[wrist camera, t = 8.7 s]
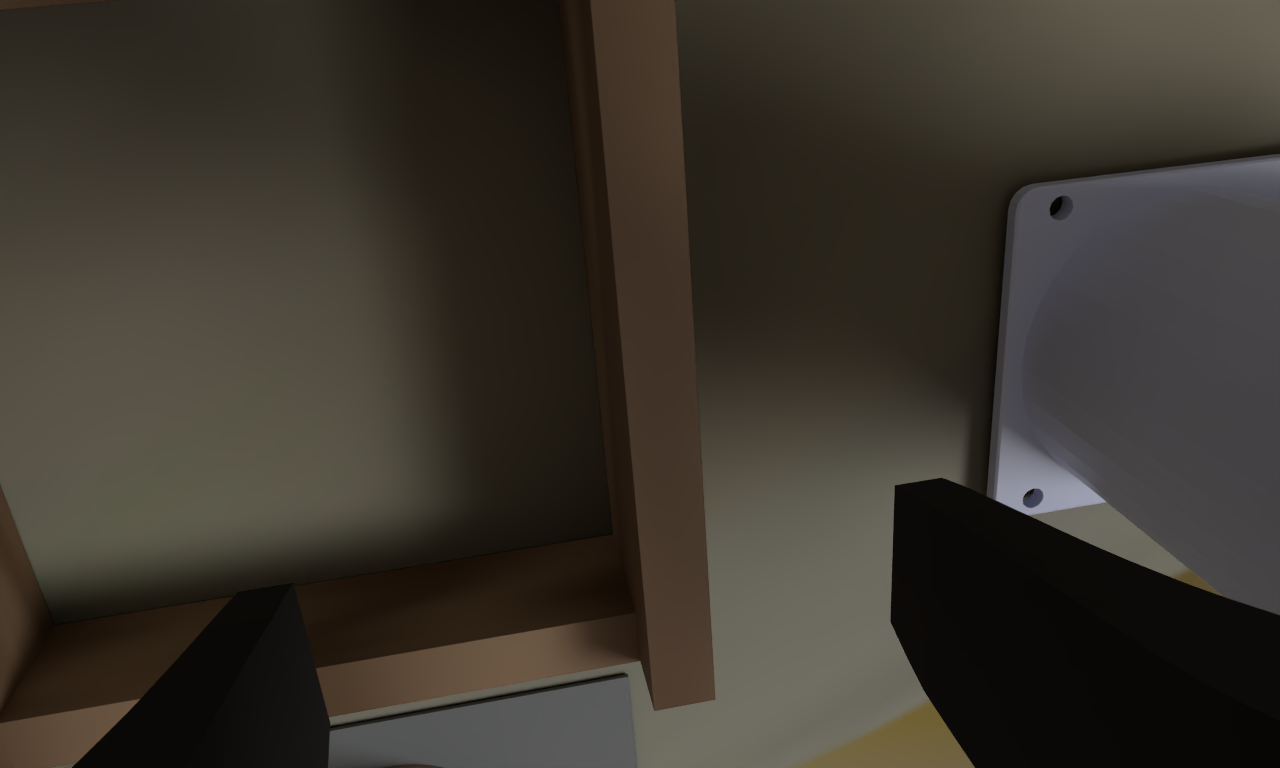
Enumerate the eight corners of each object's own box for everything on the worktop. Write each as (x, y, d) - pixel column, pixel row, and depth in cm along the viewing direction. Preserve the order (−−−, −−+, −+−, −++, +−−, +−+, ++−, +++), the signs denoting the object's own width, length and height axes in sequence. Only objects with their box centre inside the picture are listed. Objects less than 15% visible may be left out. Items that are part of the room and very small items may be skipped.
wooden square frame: (614, -118, 17) (666, -145, 13) (667, 570, 23) (715, 699, 19) (-294, -52, 15) (-563, -58, 11) (13, 680, 21) (-93, 851, 17)
